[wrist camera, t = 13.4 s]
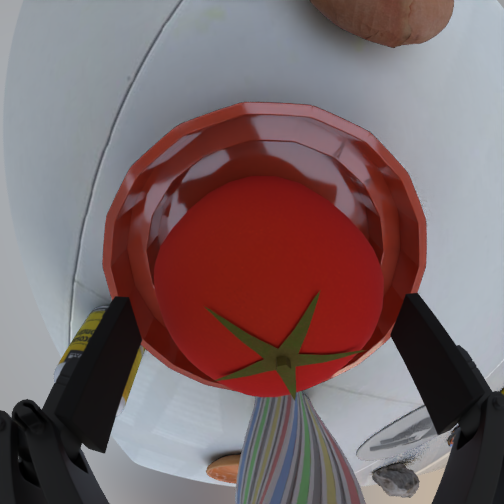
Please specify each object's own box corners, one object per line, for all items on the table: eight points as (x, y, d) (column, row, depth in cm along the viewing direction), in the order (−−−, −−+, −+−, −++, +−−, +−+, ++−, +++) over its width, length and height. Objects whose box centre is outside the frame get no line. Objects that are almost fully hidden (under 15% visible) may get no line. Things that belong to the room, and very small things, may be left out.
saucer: (242, 477, 45) (242, 487, 42) (189, 457, 39) (188, 470, 37) (306, 462, 41) (308, 474, 38) (260, 442, 35) (260, 458, 33)
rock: (368, 476, 49) (402, 505, 36) (394, 452, 51) (429, 478, 38) (372, 482, 56) (401, 506, 43) (394, 462, 58) (424, 484, 45)
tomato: (275, 334, 23) (286, 444, 14) (152, 254, 20) (91, 360, 10) (374, 243, 19) (450, 337, 10) (249, 128, 16) (251, 133, 6)
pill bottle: (139, 304, 23) (90, 413, 12) (155, 354, 25) (126, 453, 15) (82, 300, 22) (23, 390, 12) (101, 347, 25) (63, 433, 15)
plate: (335, 467, 44) (336, 471, 43) (403, 403, 32) (405, 409, 31) (426, 446, 47) (427, 449, 45) (493, 379, 34) (496, 383, 33)
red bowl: (127, 118, 16) (80, 121, 10) (400, 125, 16) (451, 133, 11) (160, 337, 24) (144, 385, 19) (359, 335, 25) (378, 381, 19)
